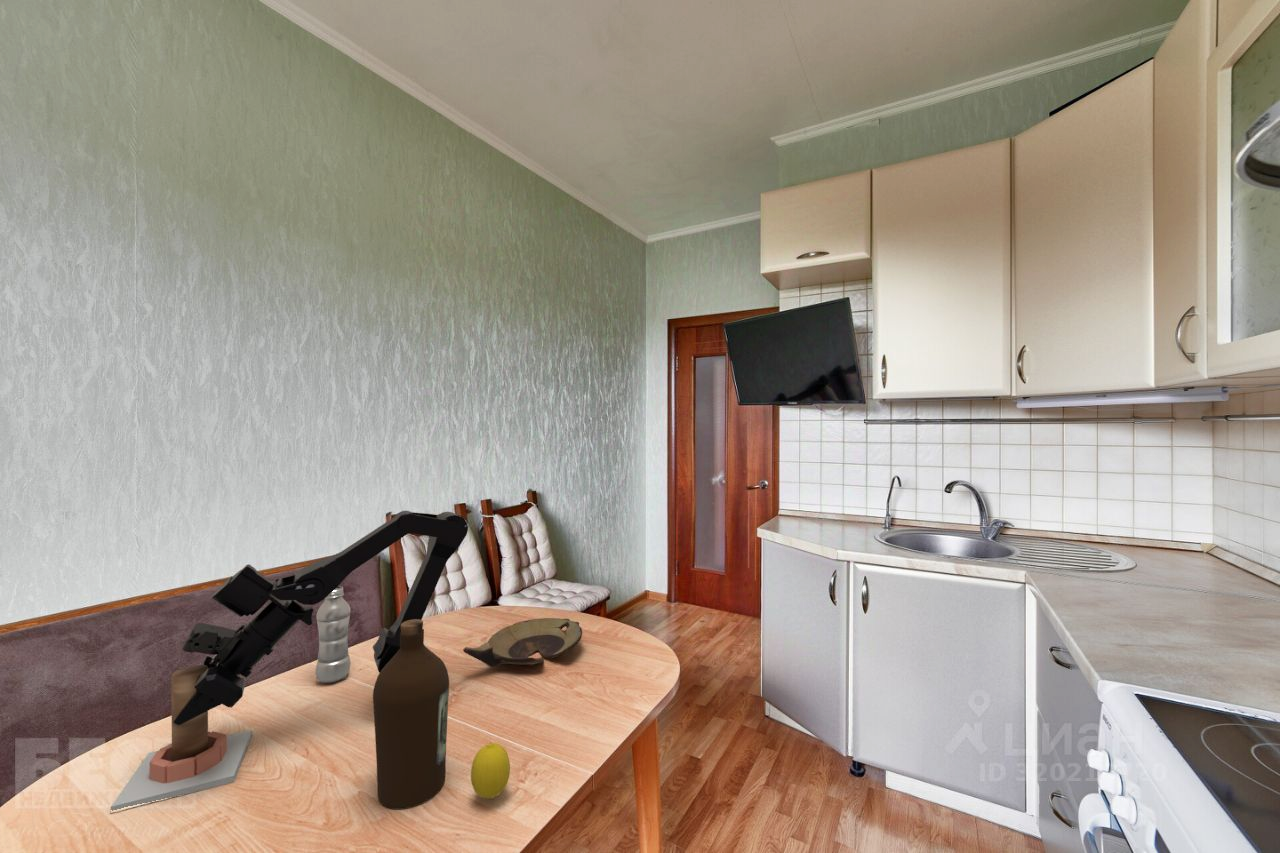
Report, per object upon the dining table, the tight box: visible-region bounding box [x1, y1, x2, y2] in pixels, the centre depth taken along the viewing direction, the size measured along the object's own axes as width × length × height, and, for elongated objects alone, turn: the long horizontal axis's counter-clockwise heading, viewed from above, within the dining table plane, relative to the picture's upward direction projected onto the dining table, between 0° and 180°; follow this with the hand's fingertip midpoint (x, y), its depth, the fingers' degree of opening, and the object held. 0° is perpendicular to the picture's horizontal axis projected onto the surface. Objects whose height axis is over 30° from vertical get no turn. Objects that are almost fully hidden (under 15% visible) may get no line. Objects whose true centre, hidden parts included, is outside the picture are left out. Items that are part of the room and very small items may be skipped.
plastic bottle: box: [315, 585, 352, 684], centre depth 112 cm, size 6×7×20 cm
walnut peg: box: [171, 664, 209, 762], centre depth 82 cm, size 4×4×14 cm
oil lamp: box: [462, 617, 583, 668], centre depth 123 cm, size 22×30×8 cm
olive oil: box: [372, 619, 450, 810], centre depth 78 cm, size 11×11×25 cm
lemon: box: [470, 742, 511, 800], centre depth 75 cm, size 6×6×8 cm
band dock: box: [110, 729, 253, 811], centre depth 82 cm, size 14×14×4 cm
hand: (179, 716), depth 82 cm, fingers closed on walnut peg, 4 cm apart
